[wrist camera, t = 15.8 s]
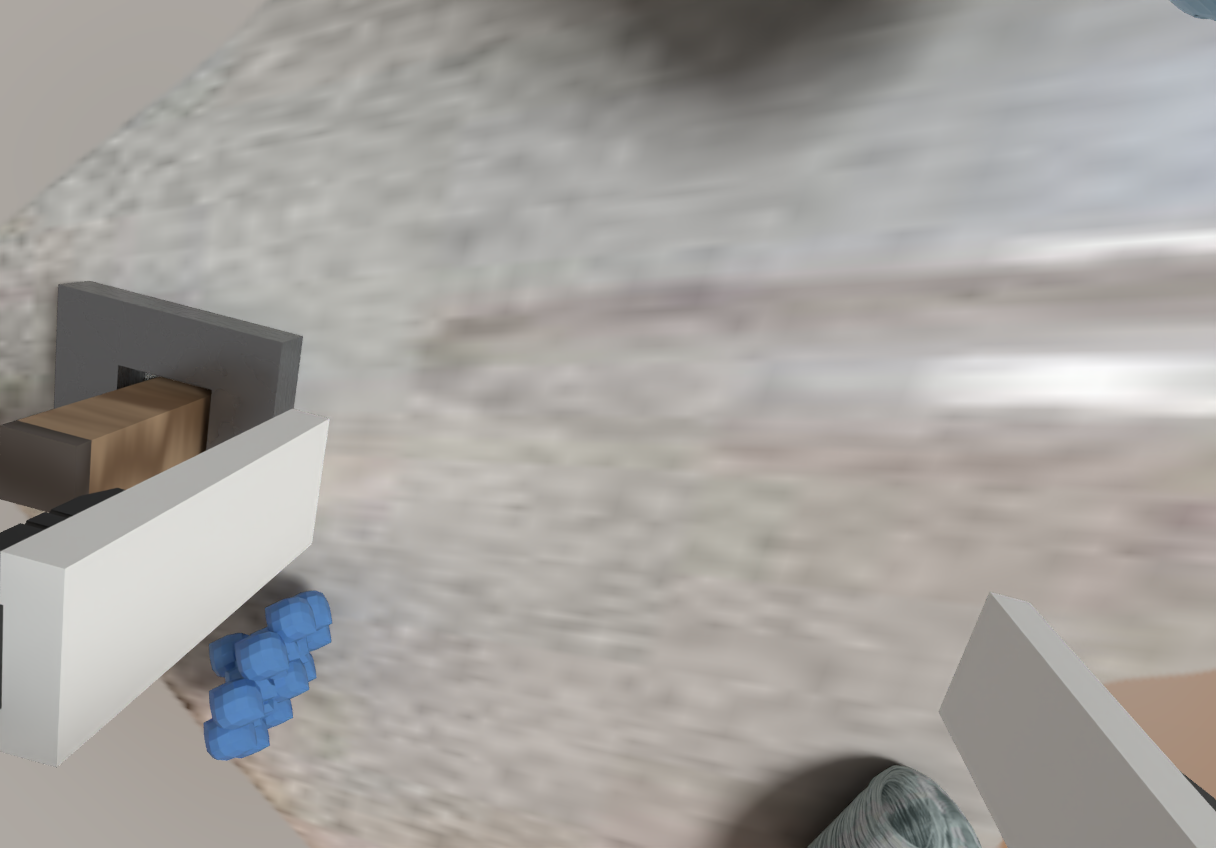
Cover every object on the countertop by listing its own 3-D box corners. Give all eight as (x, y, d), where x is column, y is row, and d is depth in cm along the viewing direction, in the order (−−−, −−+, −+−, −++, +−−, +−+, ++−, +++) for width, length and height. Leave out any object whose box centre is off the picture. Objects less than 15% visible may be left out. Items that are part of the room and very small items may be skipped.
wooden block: (160, 376, 49) (-1, 425, 38) (219, 392, 49) (76, 445, 38) (155, 434, 50) (-2, 498, 39) (213, 449, 50) (73, 518, 39)
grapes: (285, 527, 51) (168, 617, 40) (377, 569, 51) (288, 671, 40) (237, 663, 55) (117, 783, 43) (324, 702, 55) (227, 832, 43)
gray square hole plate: (89, 281, 48) (58, 284, 46) (302, 336, 48) (282, 342, 45) (80, 483, 52) (51, 496, 50) (277, 536, 52) (257, 552, 49)
